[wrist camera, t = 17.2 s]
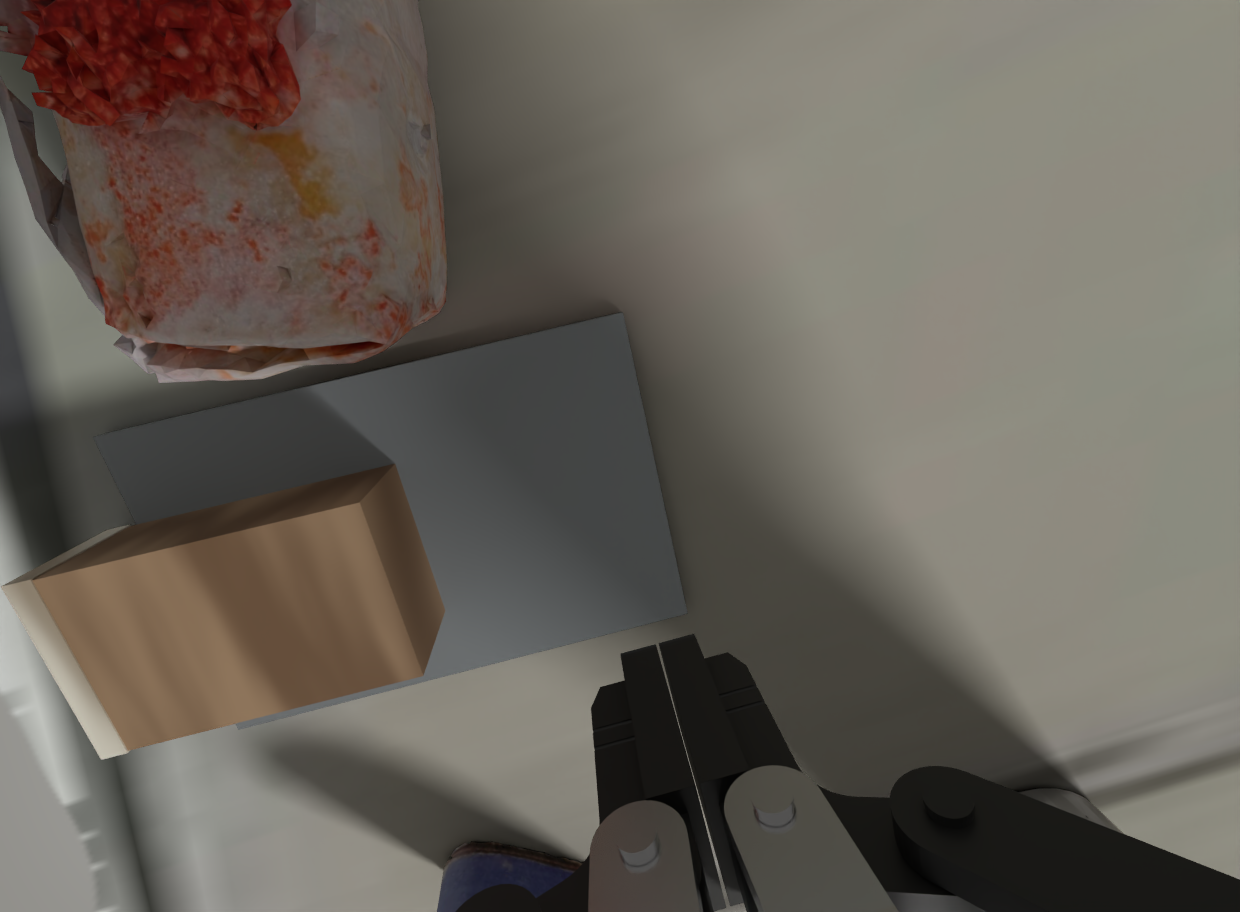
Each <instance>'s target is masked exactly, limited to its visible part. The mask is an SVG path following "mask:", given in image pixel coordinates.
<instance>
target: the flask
mask: <svg viewBox="0 0 1240 912" xmlns="http://www.w3.org/2000/svg"><path fill="white" fill-rule="evenodd" d="M451 856H452V857H453V858H452V859H451V860H450V859H449V860H448V861H447V863H446V865H445V867H444V871H443V877H442V884H441V890H440V897H439V903H438V908H437V912H455V911H456V910H457V909H458V908H459V907H460V906H461V905H462V904H463V903H464V902H465V901H467V900H468V899H469V898H471V897H472V896H473V895H475V894H476V893H478V892H480V891H482V890H484V889H486V888H489V887H491V886H495V885H499V884H515V885H519V886H522V887H524V888H526V889H527V890H529V891H530V892H531V893H532V894H533V895H534V896H535V898H537V897H538V896H540V895H542V894H543V893H545V892H546V891H548V890H549V889H551V888H553V887H554V886H556V885H557V884H559V883H560V882H562V881H563V880H565V879H566V878H568V877H569V876H570V875H572V874H573V873H574V872H575V871H576V870H577V869H578V868H579V867H580V866H581V865H582V864H583V863H580V862H578V861H572V860H568V859H567V858H562V857H560V858H556V857H552V856H549V855H548V854H545V853H540V852H535V851H532V850H528V849H525V848H524V849H522V848H517V847H514V846H512V847H510V845H506V846H505V845H502V844H499V843H496V842H490V843H489V842H486V843H476V842H475V843H474V842H471V843H470V844H469V843H464V844H462V845H461V846H460V847H457V848H456V849H455V850H454V851H453V852H452V854H451ZM451 856H450V857H451Z"/></svg>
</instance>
